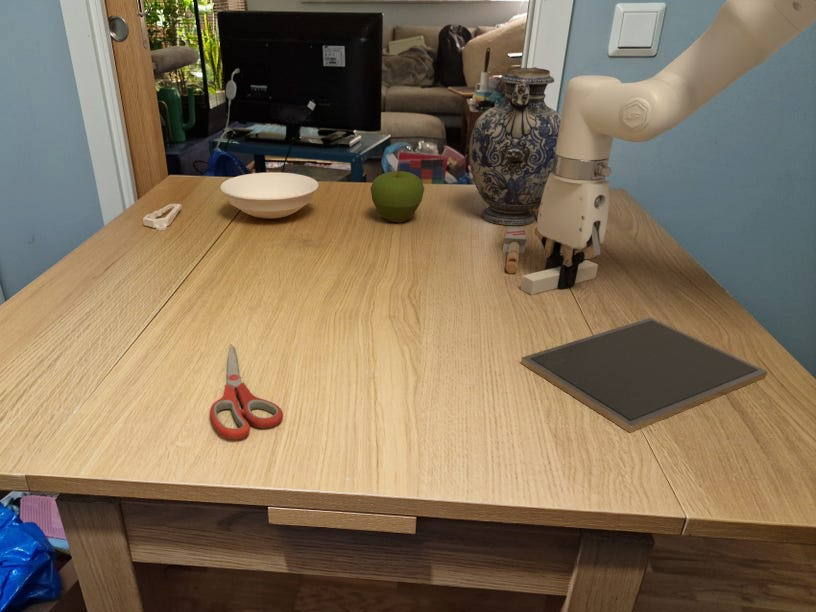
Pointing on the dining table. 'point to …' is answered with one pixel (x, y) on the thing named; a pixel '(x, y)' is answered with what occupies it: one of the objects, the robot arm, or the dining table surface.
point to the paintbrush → (514, 247)
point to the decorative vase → (515, 148)
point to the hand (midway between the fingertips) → (558, 282)
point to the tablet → (642, 372)
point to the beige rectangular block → (555, 278)
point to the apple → (397, 195)
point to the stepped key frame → (162, 222)
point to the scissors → (246, 401)
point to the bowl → (269, 193)
